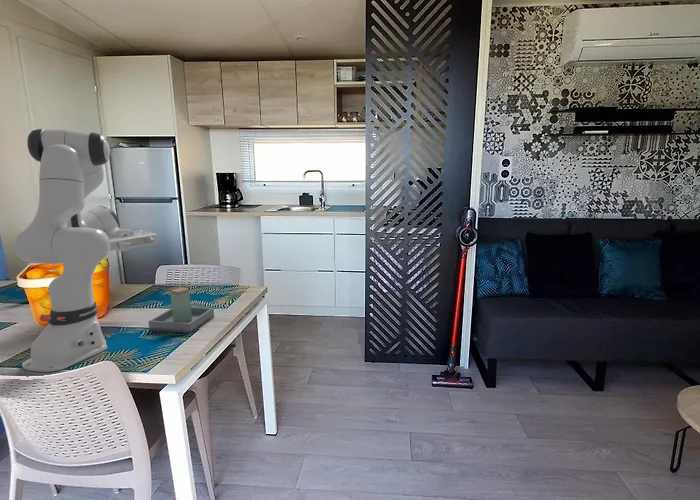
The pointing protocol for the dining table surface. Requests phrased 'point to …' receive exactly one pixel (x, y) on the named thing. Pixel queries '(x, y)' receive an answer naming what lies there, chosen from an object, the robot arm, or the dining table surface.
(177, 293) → the spice jar
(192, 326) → the bin
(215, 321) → the dining table surface
